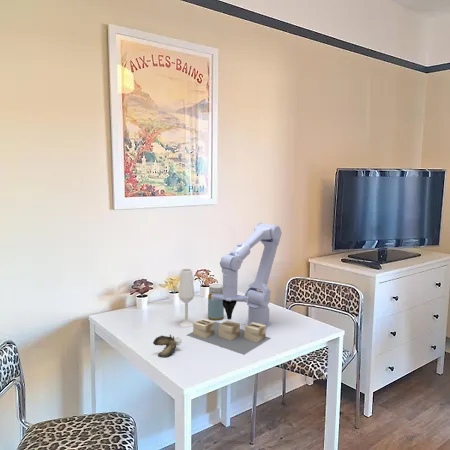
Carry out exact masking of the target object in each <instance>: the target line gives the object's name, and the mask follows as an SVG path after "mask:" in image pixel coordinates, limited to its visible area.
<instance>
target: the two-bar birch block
mask: <svg viewBox="0 0 450 450" xmlns="http://www.w3.org/2000/svg"><path fill="white" fill-rule="evenodd" d="M214 322H215V321H213V320H210V319H206V318H201V319H199V320H196V321H194V322H192V323H193V325H192V326H193V327H192V332H193V335H195V336H198V337H201V338H204V339H205V338H207V337H209V336H211V335H213V334H214Z"/></svg>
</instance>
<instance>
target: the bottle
mask: <svg viewBox="0 0 450 450" xmlns="http://www.w3.org/2000/svg"><path fill="white" fill-rule="evenodd" d="M208 291H209V292H208V295H207V318H208V320H209V321H222V320H223V319H224V318H225V316H224V312H225V311H224V310H225V308H224V306H223V304H222V303H223V301H221V300H214V301H212V300H211V295H212V294H223V284H219V283H213V284H209V286H208Z"/></svg>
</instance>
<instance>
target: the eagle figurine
mask: <svg viewBox="0 0 450 450" xmlns="http://www.w3.org/2000/svg"><path fill="white" fill-rule="evenodd" d="M152 344H153V345H154V346H164V348H163V350H161V351H160V352H159V353H157V356H158V358H167V357H169V356H170V355H171V354H172V353H173V352H175V351H176V349H177V346H178V347H179V346H180V345H181V344H182V338H180V337H179V336H177V337H175V336H172V334H169V336H167V335H159V336H157V337H155V338H154V340H153V342H152Z"/></svg>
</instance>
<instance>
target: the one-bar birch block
mask: <svg viewBox="0 0 450 450" xmlns="http://www.w3.org/2000/svg"><path fill="white" fill-rule="evenodd" d="M244 330H245V337H244V339H248V340H251V341H254V342H259V341H261V340H262V339H264V338H266V337H267V336H266V335H267V334H266V332H267V326H266V325H262V324H259V323H255V322H252V323H250V324H248V325H246V326H244Z"/></svg>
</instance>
